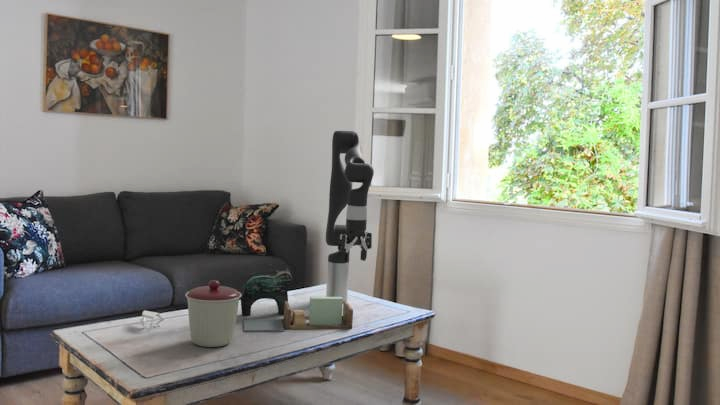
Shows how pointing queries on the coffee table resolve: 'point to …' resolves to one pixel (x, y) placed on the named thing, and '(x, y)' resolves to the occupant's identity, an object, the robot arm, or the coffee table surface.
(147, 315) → the origami figure
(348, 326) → the walnut rack
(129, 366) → the coffee table surface
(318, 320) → the pale green block
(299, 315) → the offcut block
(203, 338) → the canister
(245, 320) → the rubber mat
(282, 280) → the green animal sculpture
